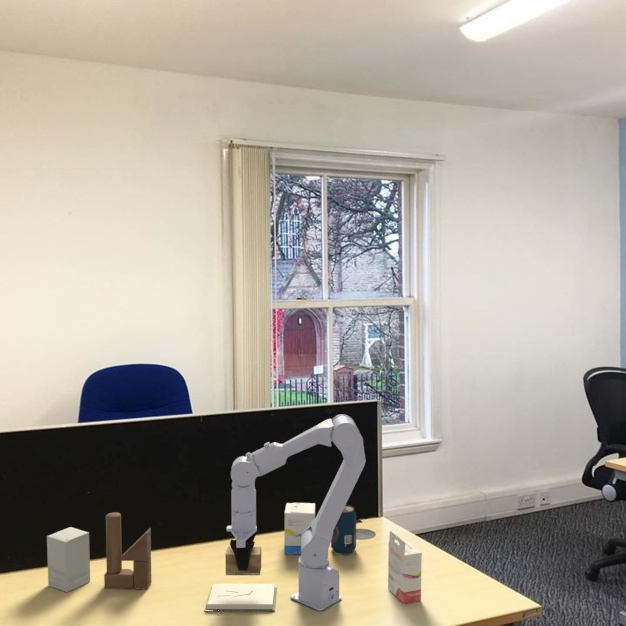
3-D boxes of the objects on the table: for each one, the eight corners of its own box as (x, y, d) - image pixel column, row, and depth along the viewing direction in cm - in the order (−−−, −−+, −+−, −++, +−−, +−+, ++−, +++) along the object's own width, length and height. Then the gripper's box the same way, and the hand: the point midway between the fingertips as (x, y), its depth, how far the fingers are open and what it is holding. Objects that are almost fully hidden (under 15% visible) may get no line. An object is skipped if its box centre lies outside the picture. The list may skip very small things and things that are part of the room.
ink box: (314, 555, 189) (315, 513, 188) (283, 554, 189) (283, 512, 188) (315, 542, 197) (315, 502, 197) (285, 541, 198) (285, 501, 197)
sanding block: (261, 567, 165) (261, 546, 165) (260, 575, 161) (259, 554, 160) (227, 567, 165) (227, 546, 165) (225, 575, 161) (225, 554, 160)
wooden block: (147, 590, 168) (146, 517, 167) (104, 589, 169) (102, 517, 167) (151, 583, 172) (150, 512, 171) (109, 582, 172) (107, 511, 171)
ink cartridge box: (422, 601, 163) (423, 540, 162) (403, 604, 162) (404, 543, 160) (404, 585, 171) (405, 527, 170) (386, 588, 170) (387, 530, 168)
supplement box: (91, 581, 173) (90, 532, 172) (66, 593, 166) (64, 542, 166) (72, 574, 177) (71, 525, 176) (47, 585, 170) (45, 535, 170)
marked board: (276, 588, 169) (276, 582, 169) (274, 611, 158) (274, 605, 158) (211, 588, 169) (211, 582, 169) (204, 611, 158) (204, 605, 158)
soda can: (327, 547, 194) (327, 505, 193) (350, 544, 196) (351, 502, 195) (335, 557, 187) (336, 513, 187) (359, 554, 190) (360, 511, 189)
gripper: (230, 498, 169) (230, 552, 170) (222, 520, 155) (223, 579, 156) (259, 498, 169) (259, 552, 170) (254, 520, 155) (254, 579, 156)
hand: (243, 565), depth 163 cm, fingers closed on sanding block, 4 cm apart
